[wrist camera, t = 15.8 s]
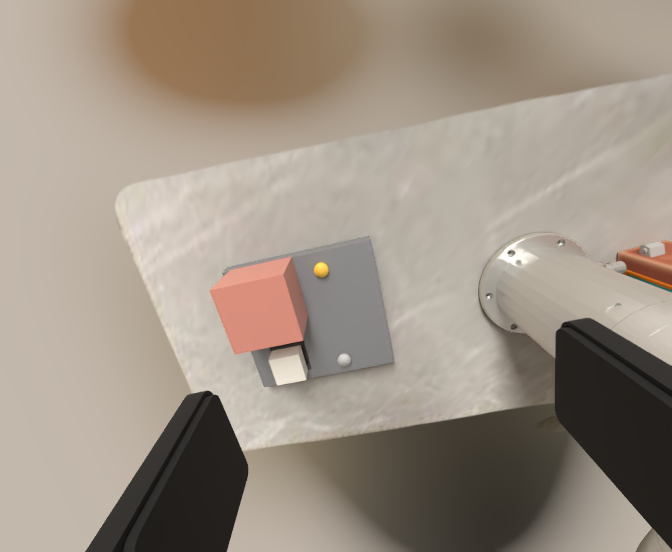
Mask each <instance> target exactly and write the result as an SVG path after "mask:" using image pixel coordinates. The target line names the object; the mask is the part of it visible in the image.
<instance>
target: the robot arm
mask: <svg viewBox="0 0 672 552" xmlns="http://www.w3.org/2000/svg"><path fill="white" fill-rule="evenodd" d="M508 251H509V252H508ZM626 269H627V268H626V265H625V263H624V262H622V261H616V262H612V263H607V264H605V265H604V264H601V263H599V262H596V261H593V260H590V259H588V256H587V254H586V253H585V251H584V250H583V248H582V247H581V246H580V245H579V244H577V243H576V242H575V241H573V240H571V239H569V238H568V237H565V236H562V235H559V234H554V233H548V232H542V233H533V234H528V235H524V236H522V237H519V238H517V239H515V240H513V241H511V242H510V243H508V244H506V245H505V246H504V247H503V248H501V249H500V250H499V251H498V252H497V253H496V254H495V255H494V256H493V257H492V259H491V260H490V261H489V263H488V264H487V266H486V268H485V269H484V272H483V274H482V277H481V280H480V286H479V298H480V302H481V306H482V308H483V310H484V311H485V313H486V314H487V316H488V317H489V318H490V319H491V320H492V321H493V322H494V323H495V324H496V325H498V326H499V327H501V328H503V329H505V330H507V331H510V332H514V333H521V334H527V335H528V336H530V337H531V338H532V339H533V340H534V341H535V342H536V343H538V344H539V345H540V346H541V347H542V348H543V349H544V350H546V351H547V352H548V353H549V354H550V355H551V356H552V357H553V358H555V411H556V415H557V417H558V419H559V421H560V423H561V424H562V425H563V426H564V427H565V429H566V430H567V431H568V432H569V433H570V434H571V435H572V437H573V438H574V439H575V440H576V441H577V442H578V443H579V445H580V446H581V447H582V448H583V449H584V450H585V451H586V453H587V454H588V455H589V456H590V457H591V458H592V459H593V460H594V462H595V463H596V464H597V465H598V466H599V467H600V469H602V471H603V472H604V473H605V474H606V475H607V477H608V478H609V479H610V480H611V481H612V482H613V483H614V485H615V486H616V487H617V488H618V489H619V490H620V491H621V492H622V494H623V495H624V496H625V497H626V498H627V499H628V500H629V502H630V503H631V504H632V505H633V506H634V507H635V508H636V510H637V511H638V512H639V513H640V514H641V515H642V516H643V518H644V519H645V520H646V521H647V522H648V523H649V525H650V526H651V527H652V529H651V530H650V531H649V532H648V534H647V535H646V536H645V537H644V539H643V540H642V541H641V543H640V544H639V546H638V548H637V551H636V552H672V293H671V292H669V291H666V290H663V289H661V288H658V287H655V286H653V285H650V284H648V283H645V282H642V281H640V280H637V279H634V278H632V277H629V276H626V275H624V274H621V273H624V272H626ZM247 477H248V464H247V461H246V459H245V456H244V454H243V452H242V449H241V447H240V445H239V442H238V440H237V438H236V435H235V433H234V431H233V428H232V426H231V424H230V422H229V419H228V417H227V415H226V412H225V410H224V408H223V405H222V403H221V401H220V398H219V397H218V396H217V395H213V393H212V392H210V391H204V392H198V393H193V394H189V395H187V396H186V397H185V399H184V400H183V402H182V403H181V405H180V406H179V408H178V410H177V411H176V413H175V414H174V416H173V417H172V419H171V420H170V422H169V423H168V425H167V426H166V428H165V430H164V432H163V433H162V434H161V436H160V438H159V439H158V440H157V442H156V443H155V445H154V446H153V448H152V450H151V451H150V453H149V454H148V456H147V457H146V459H145V461H144V462H143V464H142V465H141V467H140V468H139V470H138V471H137V473H136V474H135V476H134V477H133V479H132V481H131V482H130V484H129V485H128V487H127V488H126V490H125V491H124V493H123V494H122V496H121V497H120V499H119V501H118V502H117V504H116V505H115V507H114V508H113V510H112V512H111V513H110V514H109V516H108V518H107V519H106V521H105V522H104V524H103V525H102V527H101V528H100V530H99V531H98V533H97V535H96V536H95V538H94V539H93V541H92V542H91V544H90V545H89V547H88V549H87V550H86V551H85V552H227V548H228V545H229V541H230V538H231V534H232V531H233V527H234V523H235V520H236V516H237V513H238V509H239V506H240V502H241V499H242V495H243V492H244V488H245V484H246V481H247Z"/></svg>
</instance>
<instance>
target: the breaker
mask: <svg viewBox="0 0 672 552" xmlns="http://www.w3.org/2000/svg"><path fill="white" fill-rule="evenodd" d="M268 361H269V364H270V366H271V369H272V372H273V375H274V378H275V381H276V384H277V386H278V385H283V384H288V383H293V382H299V381H304V380H306V379H307V372H308V369H307V365H306V362H305V359H304V355H303V352H302V349H301V346H300V345H298V346H293V347H288V348H283V349H278V350H273V351H271V354H270V357H269V360H268Z"/></svg>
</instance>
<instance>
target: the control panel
mask: <svg viewBox="0 0 672 552" xmlns="http://www.w3.org/2000/svg"><path fill="white" fill-rule="evenodd" d="M617 261H622V262H624V263H625V265H626V268H627V269H626V272H624V273H621V274H624V275H626V276H629V277H632V278H634V279H637V280H640V281H642V282H645V283H648V284H650V285H653V286H655V287H658V288H661V289H663V290H666V291H669V292H671V293H672V242H670V241H657V242H652V243H649V244H645V245H641V246H640V247H637V248H633V249H629V250H625V251H621V252H618V254H617Z"/></svg>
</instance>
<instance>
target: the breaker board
mask: <svg viewBox="0 0 672 552" xmlns="http://www.w3.org/2000/svg"><path fill="white" fill-rule="evenodd" d="M287 257H292V259H293V262H294V266H295V269H296V273H297V276H298V280H299V283H300V287H301V290H302V294H303V297H304V301H305V304H306V308H307V311H308V317H307V323H306V328H305V334H304V339H303V341H304V344H305V347H306V351H307V354H308V357H309V361H305V362H306V365H307V369H308V372H307V379H310V378H315V377H320V376H325V375H331V374H336V373H341V372H346V371H352V370H357V369H362V368H367V367H372V366H378V365H383V364H388V363H393V362H394V358H393V353H392V348H391V343H390V337H389V332H388V327H387V322H386V317H385V312H384V306H383V301H382V296H381V291H380V286H379V280H378V275H377V270H376V265H375V260H374V254H373V249H372V244H371V240H370V238H369V236H368V237H363V238H359V239H354V240H350V241H345V242H341V243H336V244H332V245H327V246H322V247H318V248H313V249H309V250H304V251H300V252H295V253H291V254H286V255H282V256H277V257H273V258H268V259H264V260H259V261H255V262H250V263H246V264H241V265H237V266H232V267H228V268H227V269H226V270H225V271H224V272H223V273H222V274H223V276H225V275H226V274H227V273H228V272H229V271H230V270H233V269H238V268H242V267H247V266H251V265H256V264H260V263H265V262H269V261H274V260H278V259H283V258H287ZM273 350H275V347H269V348H264V349H259V350H254V351H251V353H252V355H253V358H254V361H255V364H256V366H257V369H258V372H259V374H260V377H261V380H262V383H263V385H264V387H268V386H273V385H277V384H276V381H275V378H274V375H273V372H272V369H271V366H270V364H269V361H268V360H269V357H270V354H271V351H273Z"/></svg>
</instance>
